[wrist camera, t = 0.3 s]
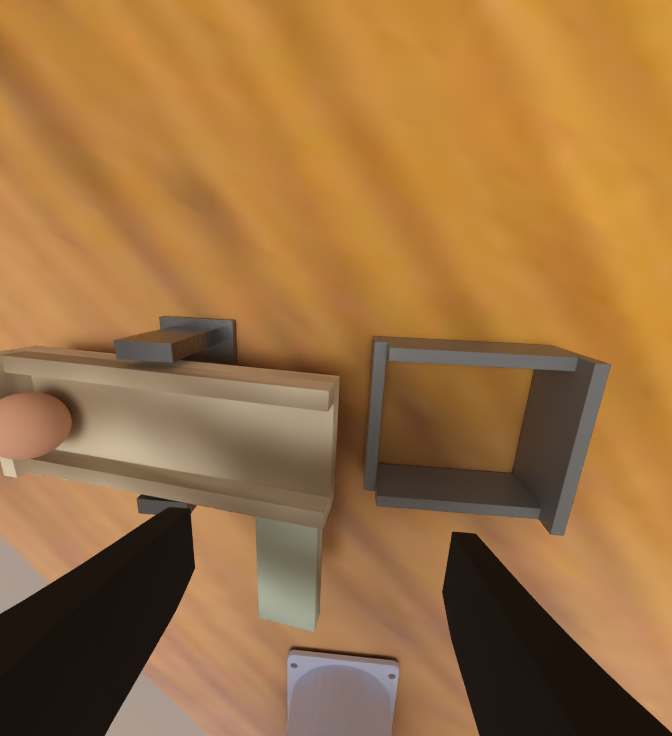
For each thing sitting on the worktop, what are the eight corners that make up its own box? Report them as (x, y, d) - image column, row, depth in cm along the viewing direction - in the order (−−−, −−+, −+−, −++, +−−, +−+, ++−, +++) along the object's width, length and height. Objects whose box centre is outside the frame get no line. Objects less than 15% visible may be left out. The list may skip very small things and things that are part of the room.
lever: (328, 615, 17) (316, 669, 14) (79, 553, 20) (34, 590, 17) (339, 376, 13) (325, 395, 11) (35, 345, 16) (-28, 356, 14)
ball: (92, 443, 16) (28, 477, 13) (41, 436, 16) (-33, 469, 13) (82, 386, 15) (11, 410, 12) (28, 380, 16) (-52, 402, 13)
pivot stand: (241, 469, 20) (205, 526, 15) (178, 464, 20) (123, 519, 15) (235, 319, 17) (189, 333, 13) (163, 316, 17) (93, 328, 13)
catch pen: (521, 483, 19) (563, 535, 15) (363, 471, 19) (364, 519, 15) (551, 345, 16) (611, 364, 13) (373, 336, 17) (377, 351, 13)
